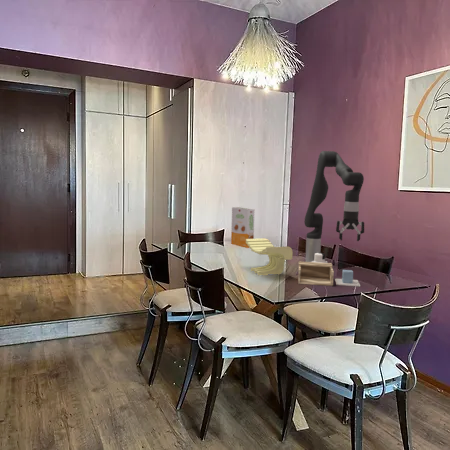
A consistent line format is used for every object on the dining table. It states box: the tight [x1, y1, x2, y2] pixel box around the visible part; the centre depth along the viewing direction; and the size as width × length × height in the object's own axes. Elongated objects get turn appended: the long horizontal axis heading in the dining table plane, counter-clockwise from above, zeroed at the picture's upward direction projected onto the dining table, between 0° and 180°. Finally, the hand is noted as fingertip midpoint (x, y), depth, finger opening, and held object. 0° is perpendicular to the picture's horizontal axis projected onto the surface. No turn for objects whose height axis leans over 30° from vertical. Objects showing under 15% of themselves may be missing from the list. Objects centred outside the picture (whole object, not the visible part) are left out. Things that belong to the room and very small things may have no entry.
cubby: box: [297, 261, 335, 287], centre depth 230 cm, size 18×18×8 cm
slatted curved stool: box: [246, 237, 293, 276], centre depth 247 cm, size 30×16×18 cm, turn 19°
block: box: [341, 269, 354, 283], centre depth 227 cm, size 5×5×6 cm
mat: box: [334, 278, 361, 287], centre depth 227 cm, size 12×12×1 cm
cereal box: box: [230, 206, 255, 249], centre depth 338 cm, size 22×6×30 cm, turn 32°
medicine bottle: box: [311, 252, 329, 263], centre depth 248 cm, size 7×7×12 cm
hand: (349, 240), depth 225 cm, fingers open, 8 cm apart
